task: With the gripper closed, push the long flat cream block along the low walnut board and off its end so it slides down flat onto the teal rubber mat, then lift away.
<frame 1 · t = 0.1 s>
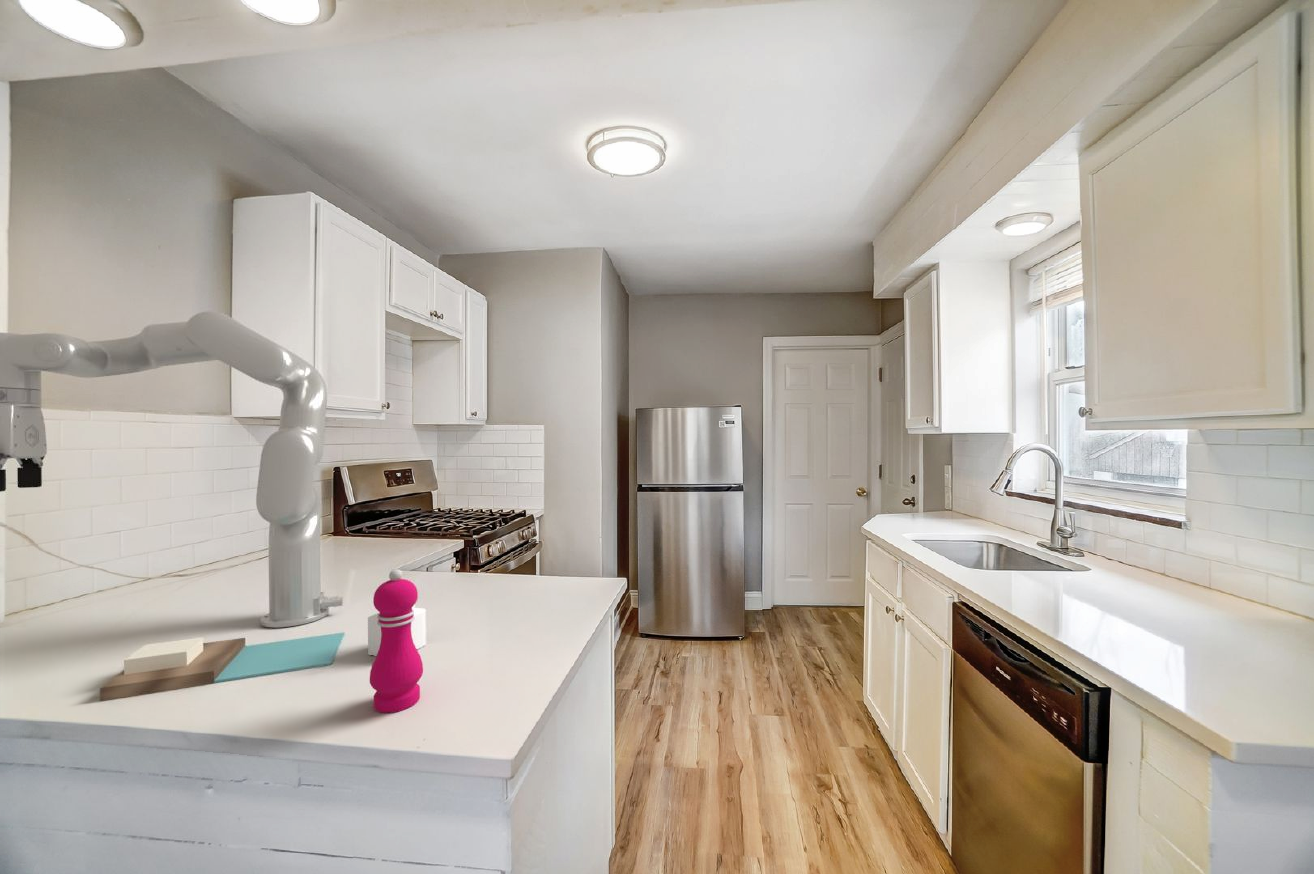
hand: (12, 489, 100), 31 cm above the counter, tool pointing down, fingers open, 9 cm apart
mat: (284, 656, 97), on the counter
board: (180, 671, 91), on the counter
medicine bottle: (397, 651, 99), on the counter
block: (165, 655, 90), point 3 cm above the counter, touching board
pepper mill: (397, 703, 79), on the counter
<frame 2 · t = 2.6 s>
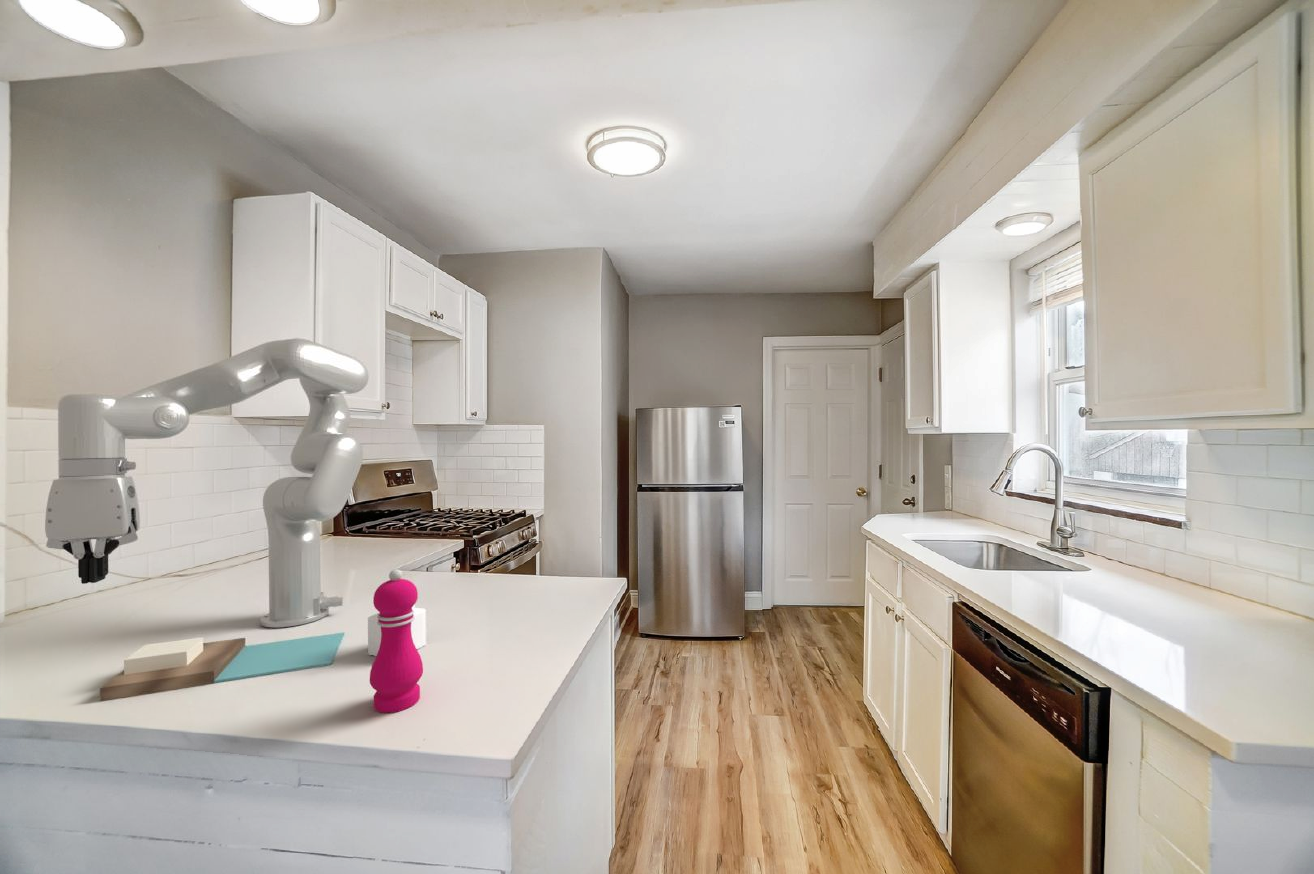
hand: (93, 581, 87), 17 cm above the counter, tool pointing down, fingers closed
nothing on the counter moved.
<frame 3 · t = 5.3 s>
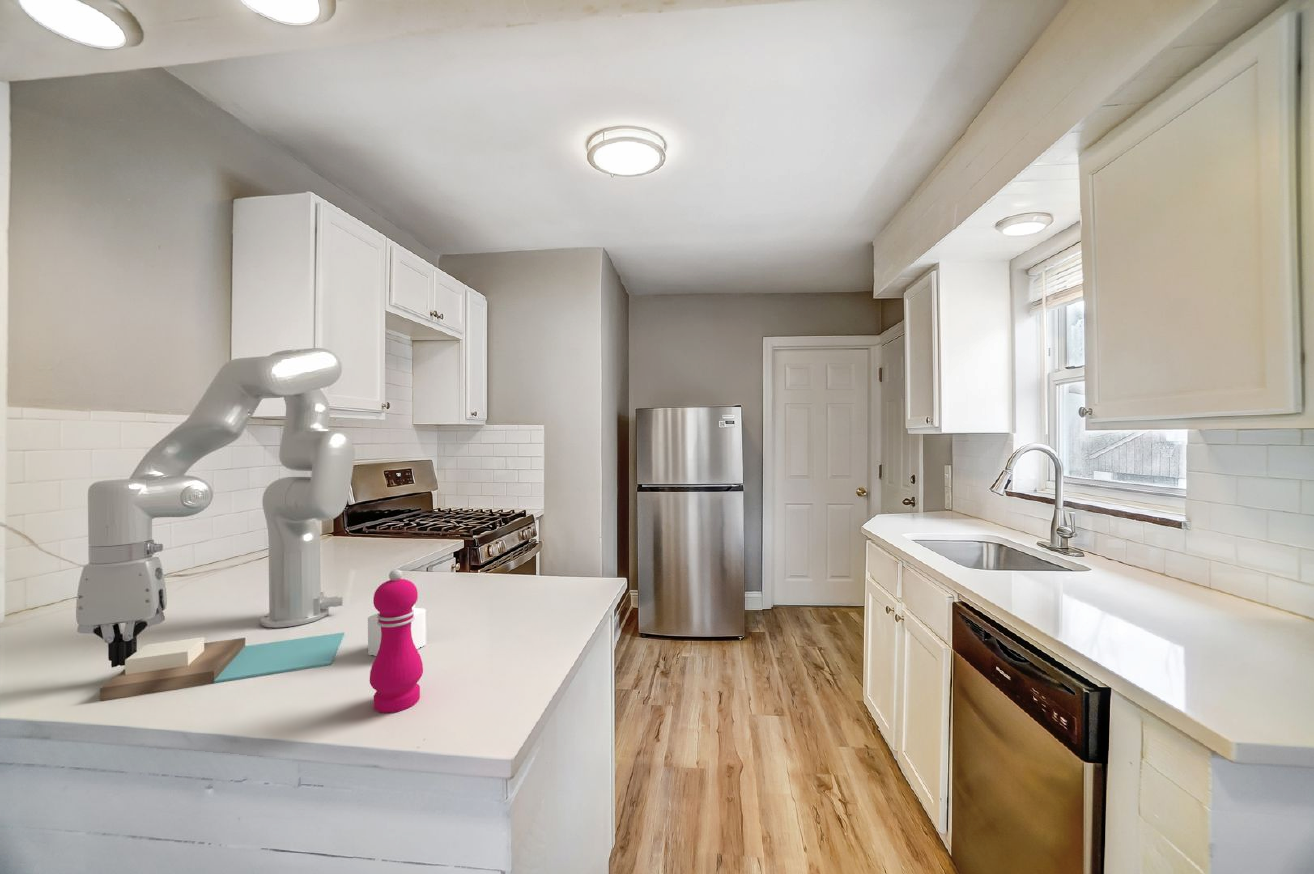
hand: (122, 662, 88), 3 cm above the counter, tool pointing down, fingers closed
block: (166, 654, 90), point 3 cm above the counter, touching gripper
everything else where it was.
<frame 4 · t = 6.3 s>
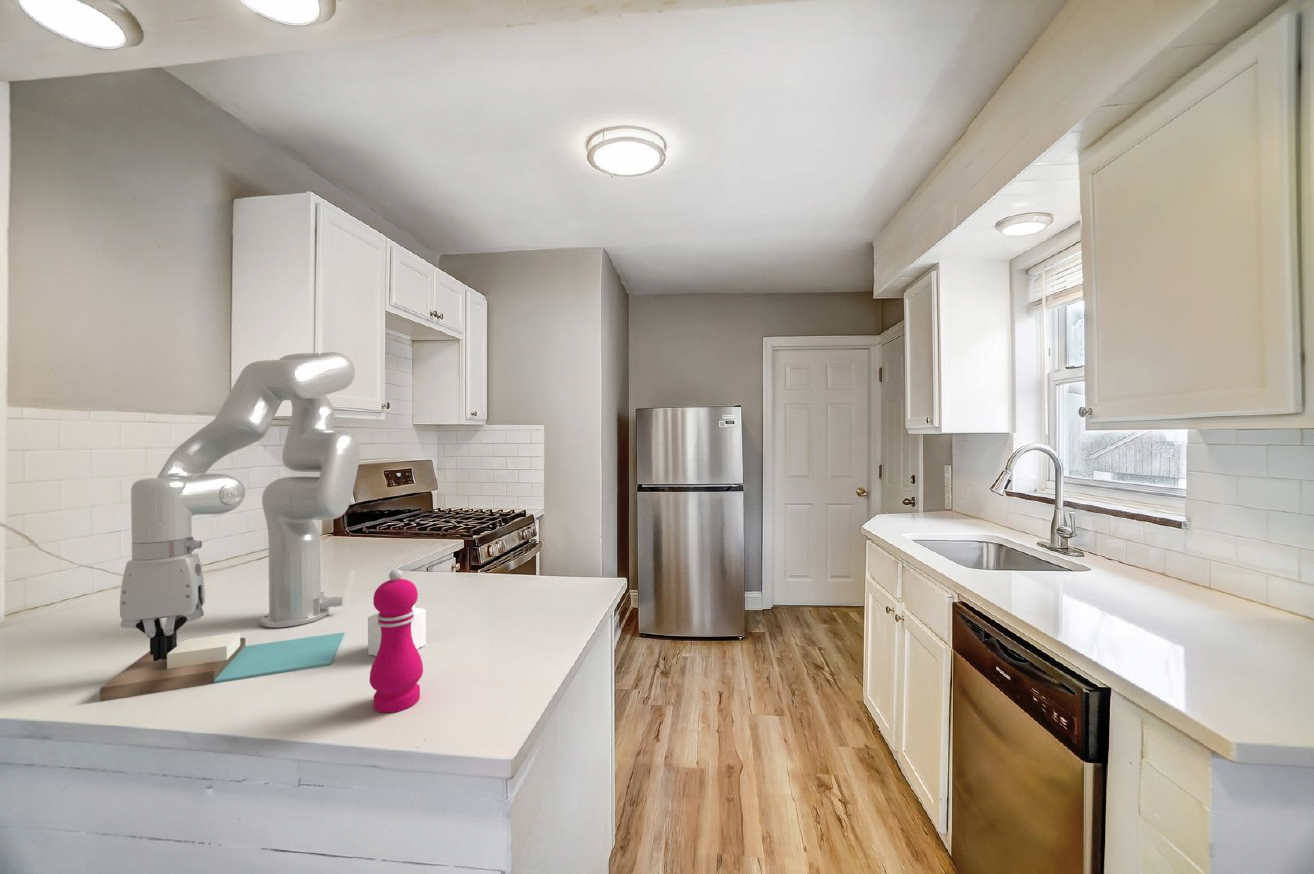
hand: (163, 657, 90), 3 cm above the counter, tool pointing down, fingers closed
block: (205, 649, 92), point 3 cm above the counter, touching gripper
everything else where it was.
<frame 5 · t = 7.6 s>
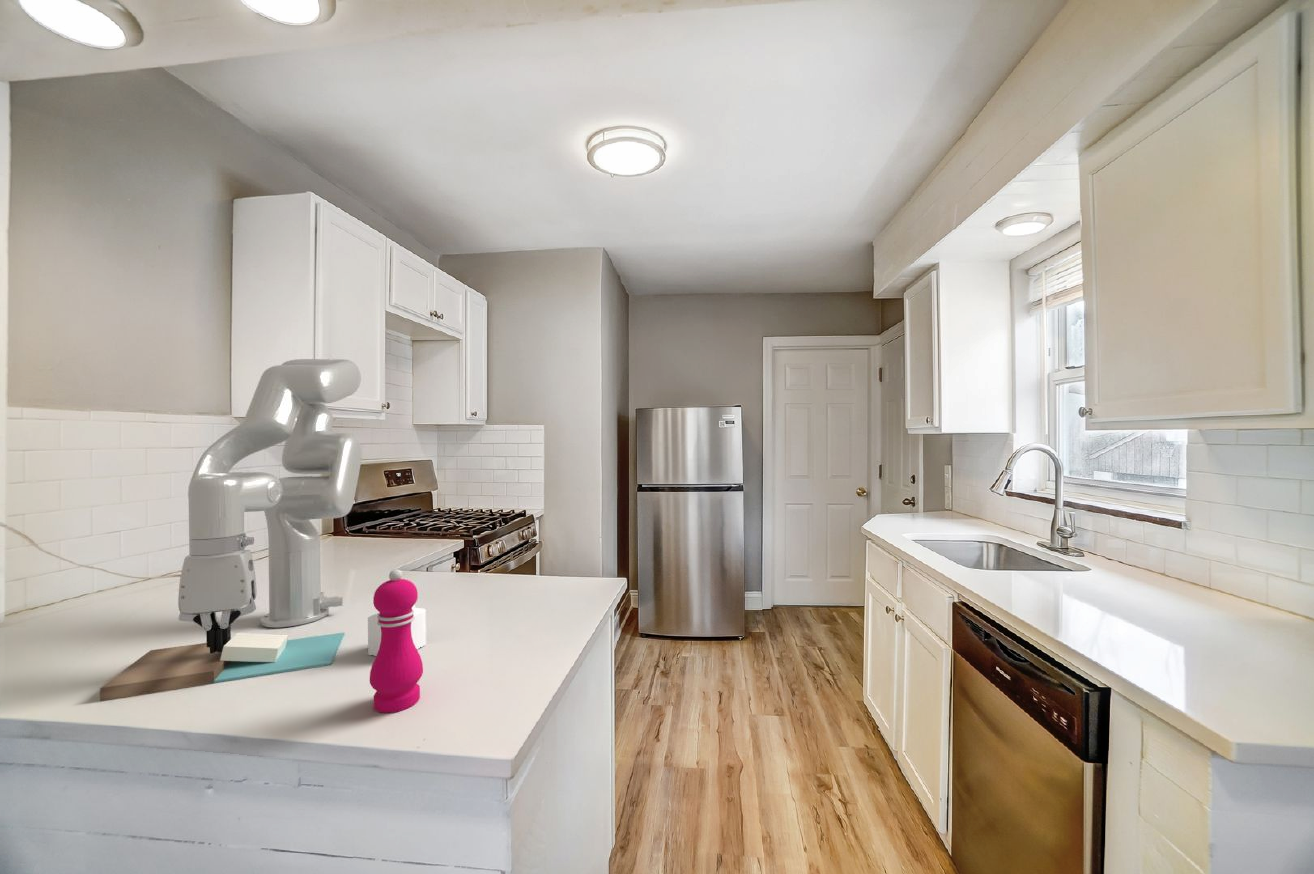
hand: (218, 649, 93), 3 cm above the counter, tool pointing down, fingers closed
block: (255, 647, 95), point 2 cm above the counter, tilted 12°, touching gripper
everything else where it was.
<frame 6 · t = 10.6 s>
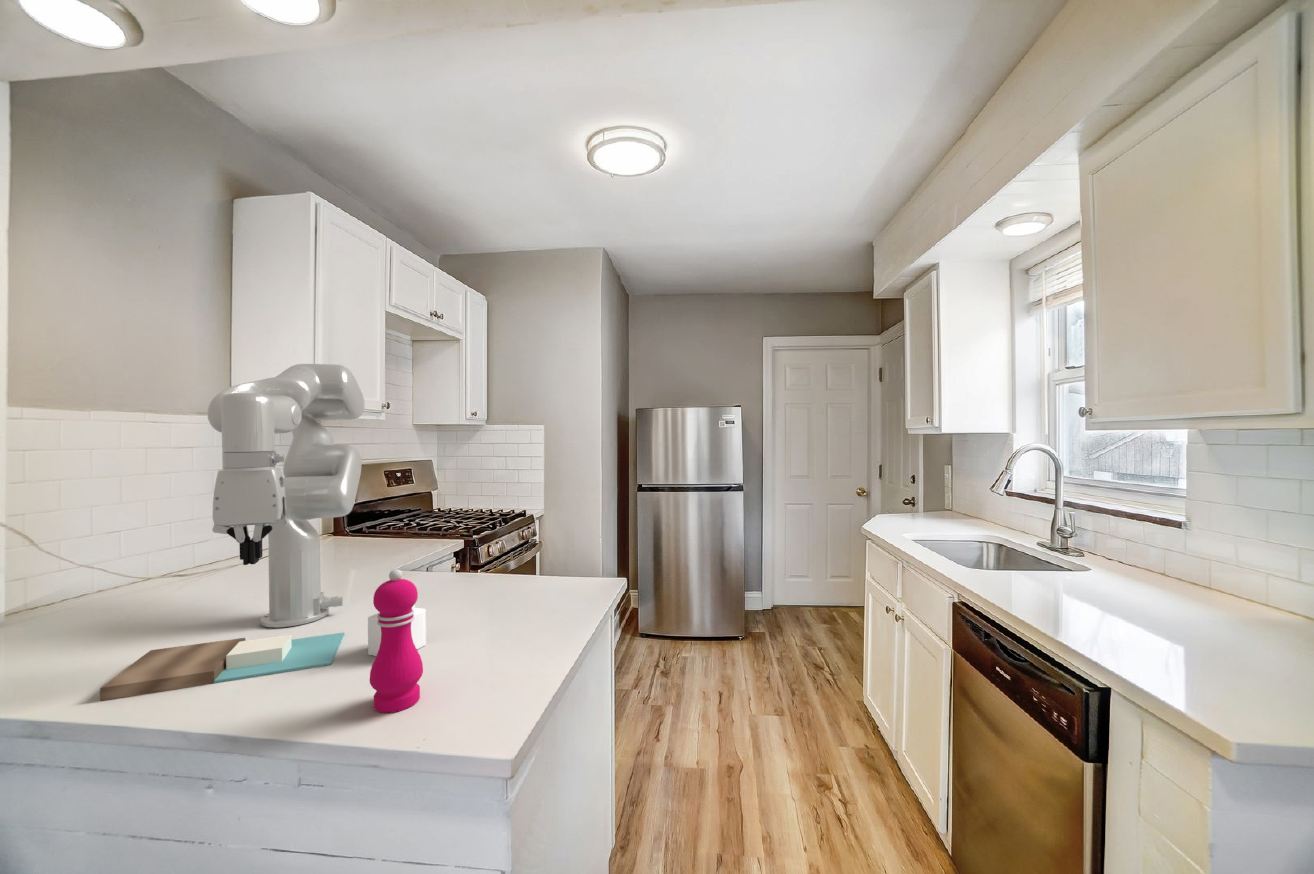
hand: (251, 562, 96), 18 cm above the counter, tool pointing down, fingers closed
block: (260, 651, 96), point 2 cm above the counter, touching mat
everything else where it was.
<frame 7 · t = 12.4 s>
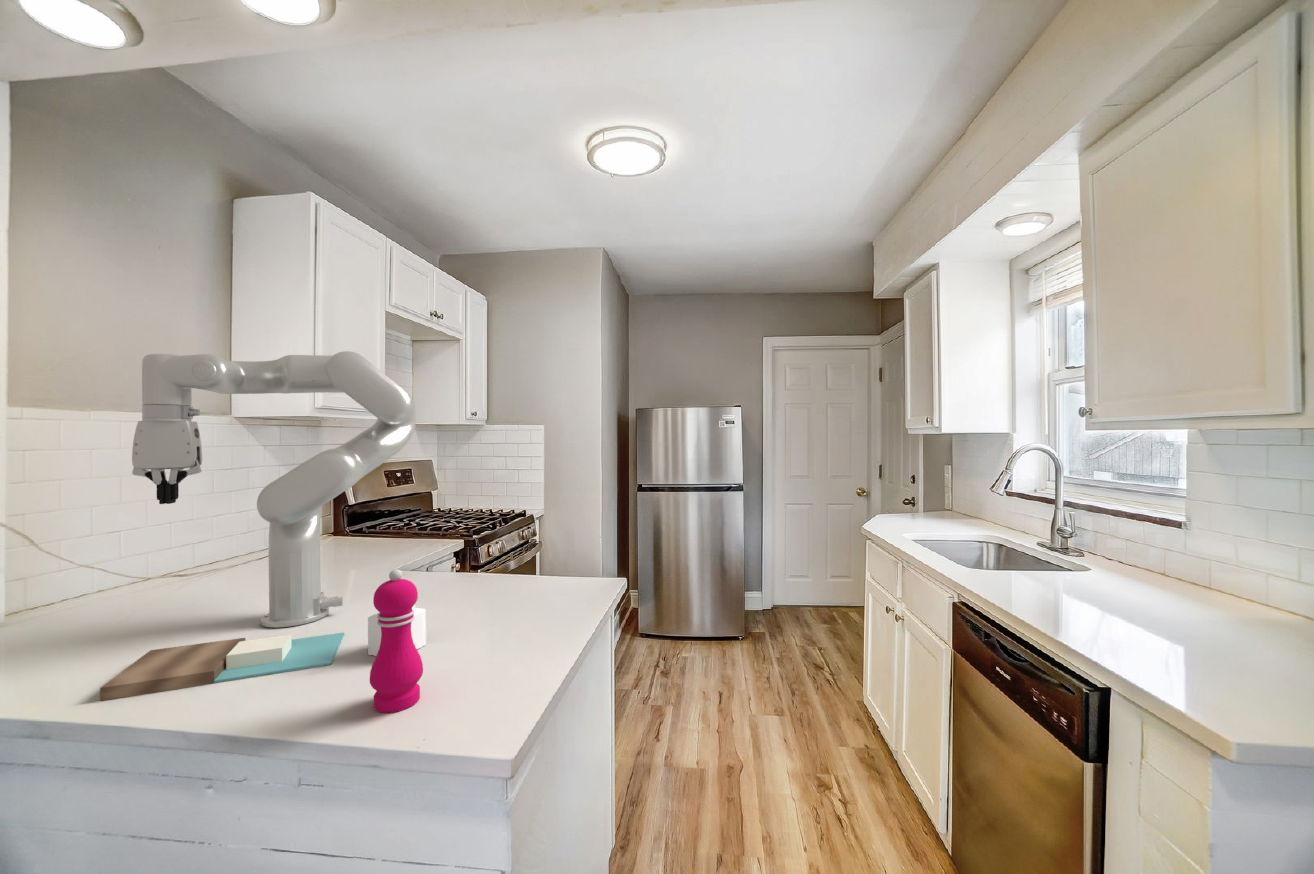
hand: (167, 503, 109), 27 cm above the counter, tool pointing down, fingers closed
nothing on the counter moved.
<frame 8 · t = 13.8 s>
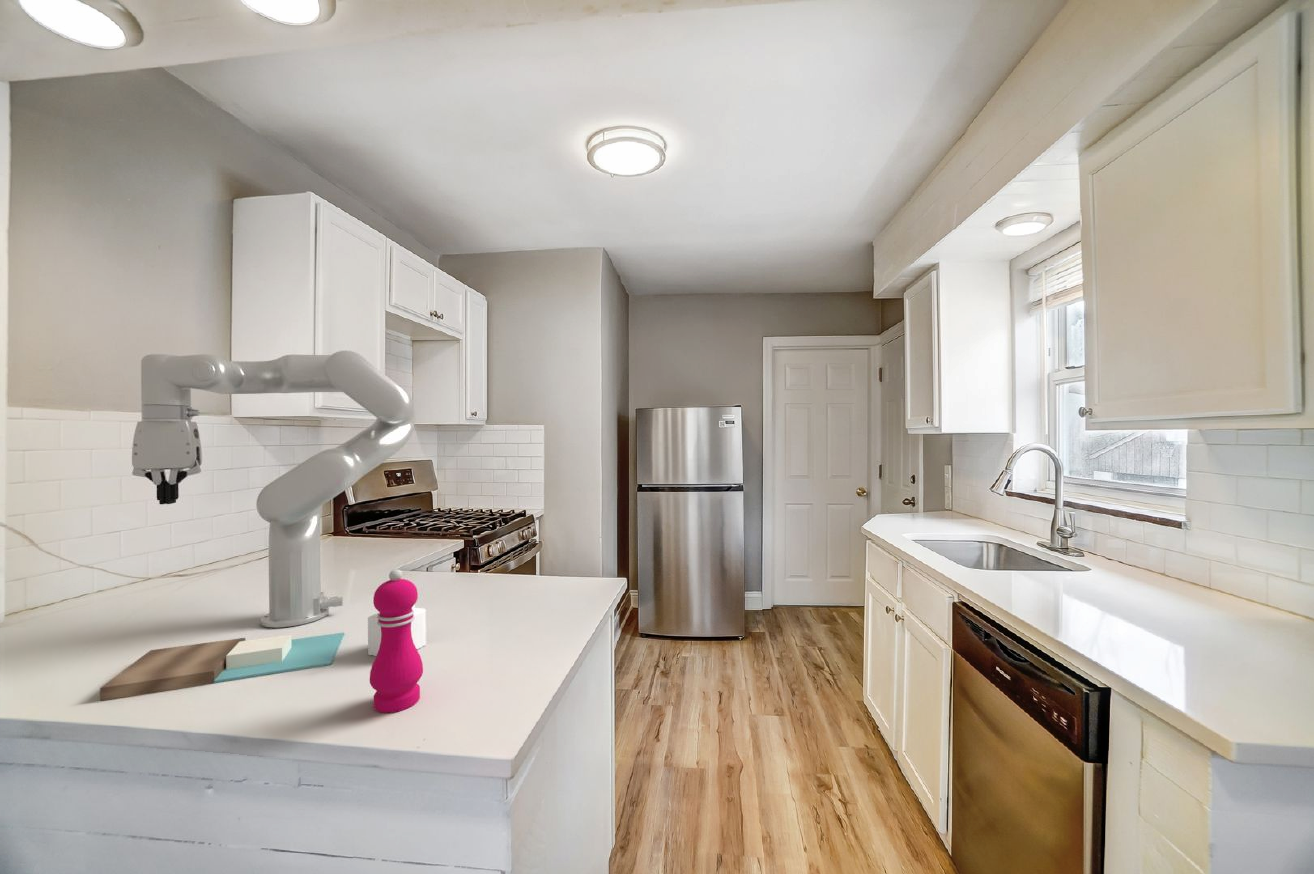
hand: (167, 503, 109), 27 cm above the counter, tool pointing down, fingers closed
nothing on the counter moved.
at the end: block point 1.6 cm above the counter; block inside the target area (3.6 cm from its centre), point 1.6 cm above the counter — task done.
